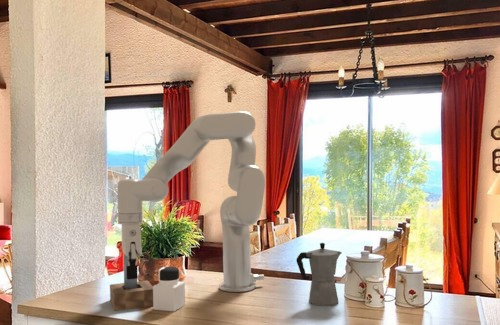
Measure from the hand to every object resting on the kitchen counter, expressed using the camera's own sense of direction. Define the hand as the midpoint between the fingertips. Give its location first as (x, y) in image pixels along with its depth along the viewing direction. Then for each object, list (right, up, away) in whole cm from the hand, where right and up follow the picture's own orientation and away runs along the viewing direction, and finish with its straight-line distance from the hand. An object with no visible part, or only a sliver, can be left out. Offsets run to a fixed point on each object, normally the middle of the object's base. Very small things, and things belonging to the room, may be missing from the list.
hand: (131, 276), depth 149 cm
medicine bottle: (+13, -8, -5) cm, 16 cm away
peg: (0, -4, 0) cm, 4 cm away
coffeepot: (+59, -7, -3) cm, 59 cm away
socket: (0, -8, 0) cm, 8 cm away
